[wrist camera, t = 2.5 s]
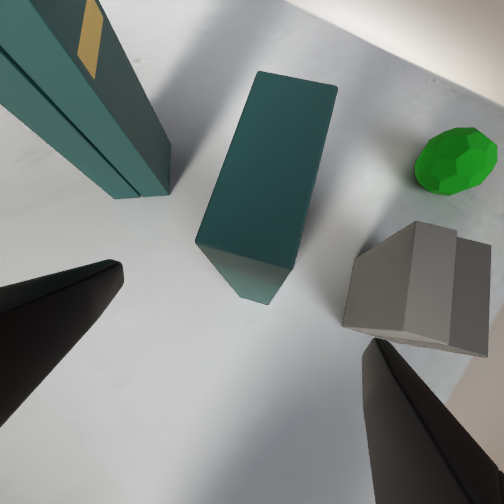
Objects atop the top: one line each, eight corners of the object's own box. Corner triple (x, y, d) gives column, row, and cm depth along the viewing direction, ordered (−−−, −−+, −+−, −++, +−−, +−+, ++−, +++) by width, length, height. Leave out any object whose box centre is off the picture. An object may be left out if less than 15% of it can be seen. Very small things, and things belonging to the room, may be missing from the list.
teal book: (268, 305, 19) (294, 270, 5) (238, 296, 19) (192, 242, 6) (285, 241, 20) (340, 84, 7) (257, 233, 20) (256, 68, 7)
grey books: (396, 342, 18) (501, 360, 10) (341, 326, 18) (402, 331, 11) (405, 272, 19) (503, 241, 12) (354, 258, 20) (415, 220, 12)
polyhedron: (463, 163, 22) (517, 121, 17) (458, 211, 21) (516, 180, 16) (406, 150, 22) (444, 106, 18) (398, 196, 21) (438, 162, 16)
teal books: (169, 195, 22) (24, -9, 8) (114, 199, 22) (-123, 3, 8) (171, 144, 23) (49, -100, 10) (119, 148, 23) (-74, -90, 10)
